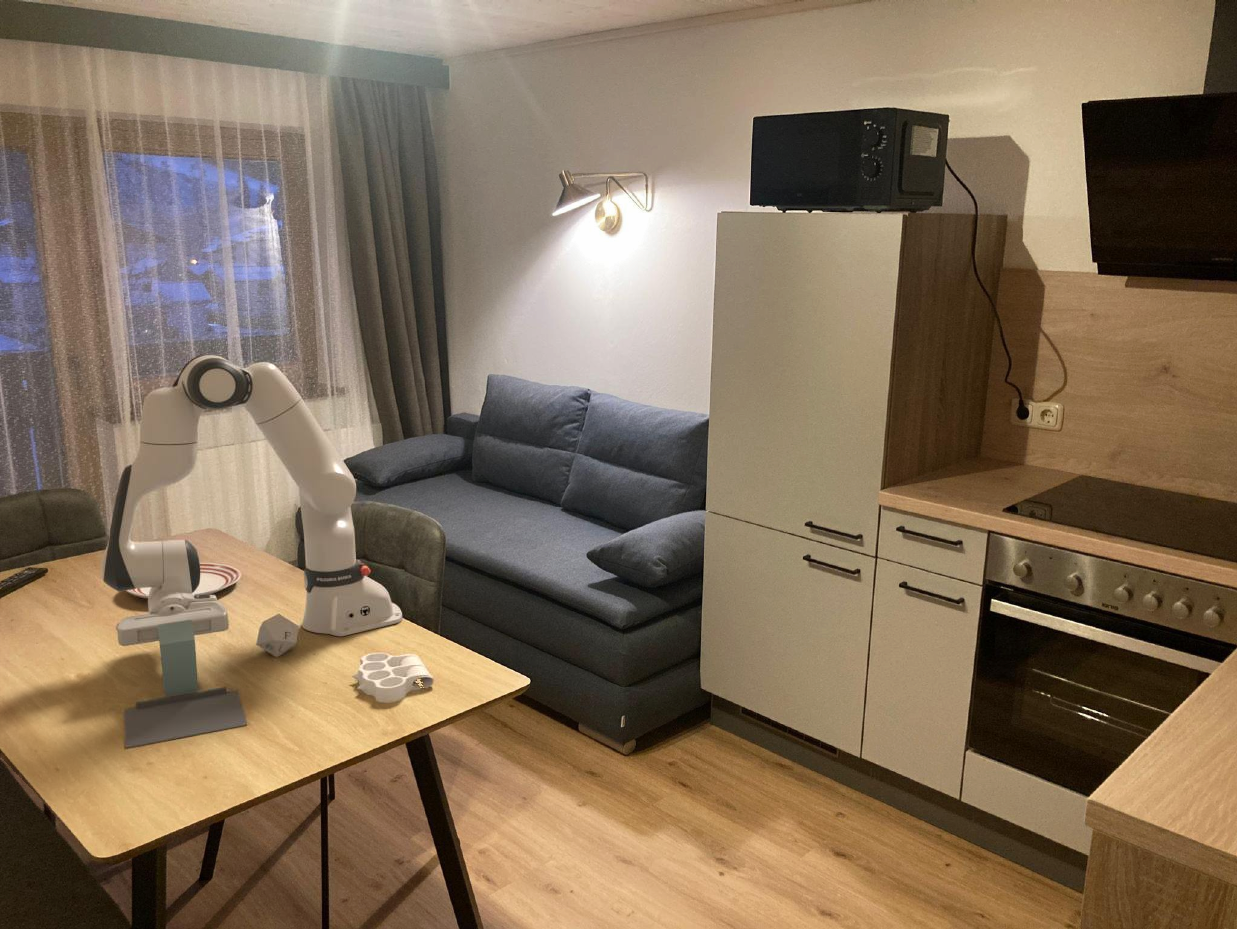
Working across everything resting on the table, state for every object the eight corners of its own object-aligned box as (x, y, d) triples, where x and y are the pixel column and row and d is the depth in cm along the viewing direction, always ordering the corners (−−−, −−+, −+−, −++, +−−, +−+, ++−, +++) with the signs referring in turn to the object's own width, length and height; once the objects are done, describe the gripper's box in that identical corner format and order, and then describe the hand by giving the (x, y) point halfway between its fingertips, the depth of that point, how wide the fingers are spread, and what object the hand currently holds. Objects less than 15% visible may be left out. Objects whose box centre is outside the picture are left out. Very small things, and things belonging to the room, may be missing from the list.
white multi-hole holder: (438, 695, 194) (363, 709, 188) (415, 660, 210) (345, 672, 204) (438, 679, 194) (362, 693, 187) (414, 645, 209) (344, 657, 203)
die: (252, 663, 208) (273, 633, 205) (246, 632, 214) (266, 602, 210) (289, 667, 214) (309, 637, 210) (282, 636, 219) (301, 607, 216)
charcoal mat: (237, 690, 195) (237, 684, 194) (247, 725, 181) (246, 719, 180) (124, 710, 186) (123, 704, 186) (125, 748, 172) (124, 742, 172)
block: (195, 674, 197) (191, 619, 190) (198, 695, 192) (194, 639, 186) (163, 680, 194) (157, 624, 188) (165, 700, 190) (159, 644, 183)
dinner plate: (202, 565, 269) (201, 553, 268) (263, 586, 254) (262, 574, 253) (102, 593, 247) (100, 580, 247) (162, 617, 232) (160, 604, 231)
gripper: (114, 608, 198) (114, 632, 186) (223, 593, 207) (229, 615, 195) (117, 637, 200) (117, 663, 187) (225, 621, 208) (232, 645, 196)
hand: (175, 639), depth 191 cm, fingers closed
